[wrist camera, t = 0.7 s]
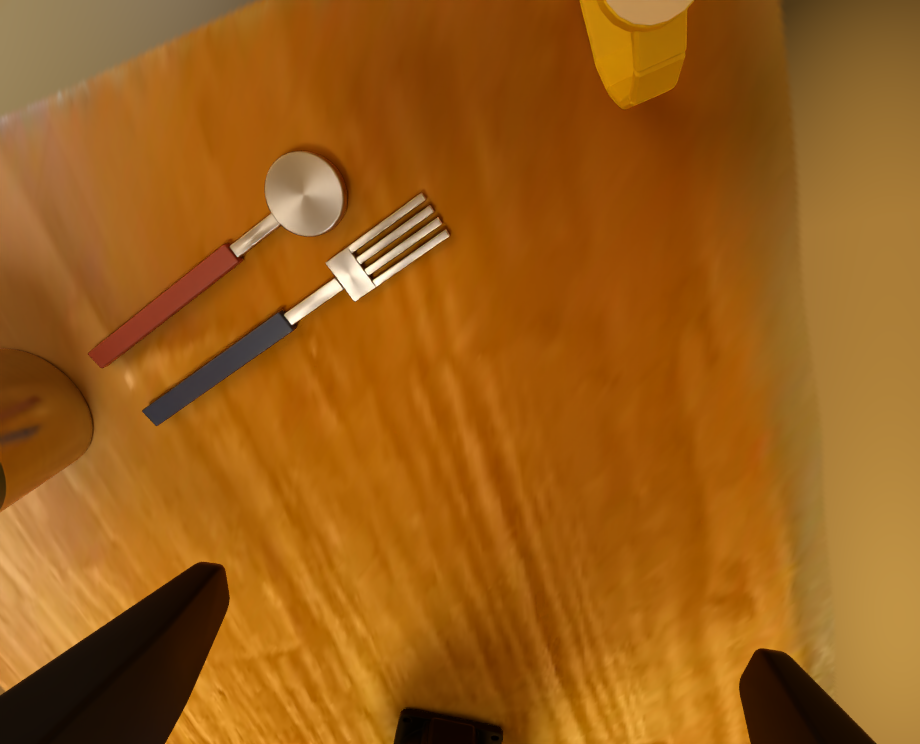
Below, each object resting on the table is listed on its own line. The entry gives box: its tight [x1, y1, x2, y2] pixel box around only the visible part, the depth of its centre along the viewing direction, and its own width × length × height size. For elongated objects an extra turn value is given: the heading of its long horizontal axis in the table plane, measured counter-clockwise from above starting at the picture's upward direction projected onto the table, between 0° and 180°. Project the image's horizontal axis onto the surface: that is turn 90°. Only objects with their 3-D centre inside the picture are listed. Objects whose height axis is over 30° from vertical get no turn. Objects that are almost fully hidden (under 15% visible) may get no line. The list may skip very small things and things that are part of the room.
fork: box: [142, 193, 450, 426], centre depth 22 cm, size 17×2×1 cm, turn 124°
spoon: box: [88, 151, 347, 368], centre depth 21 cm, size 15×3×1 cm, turn 124°
